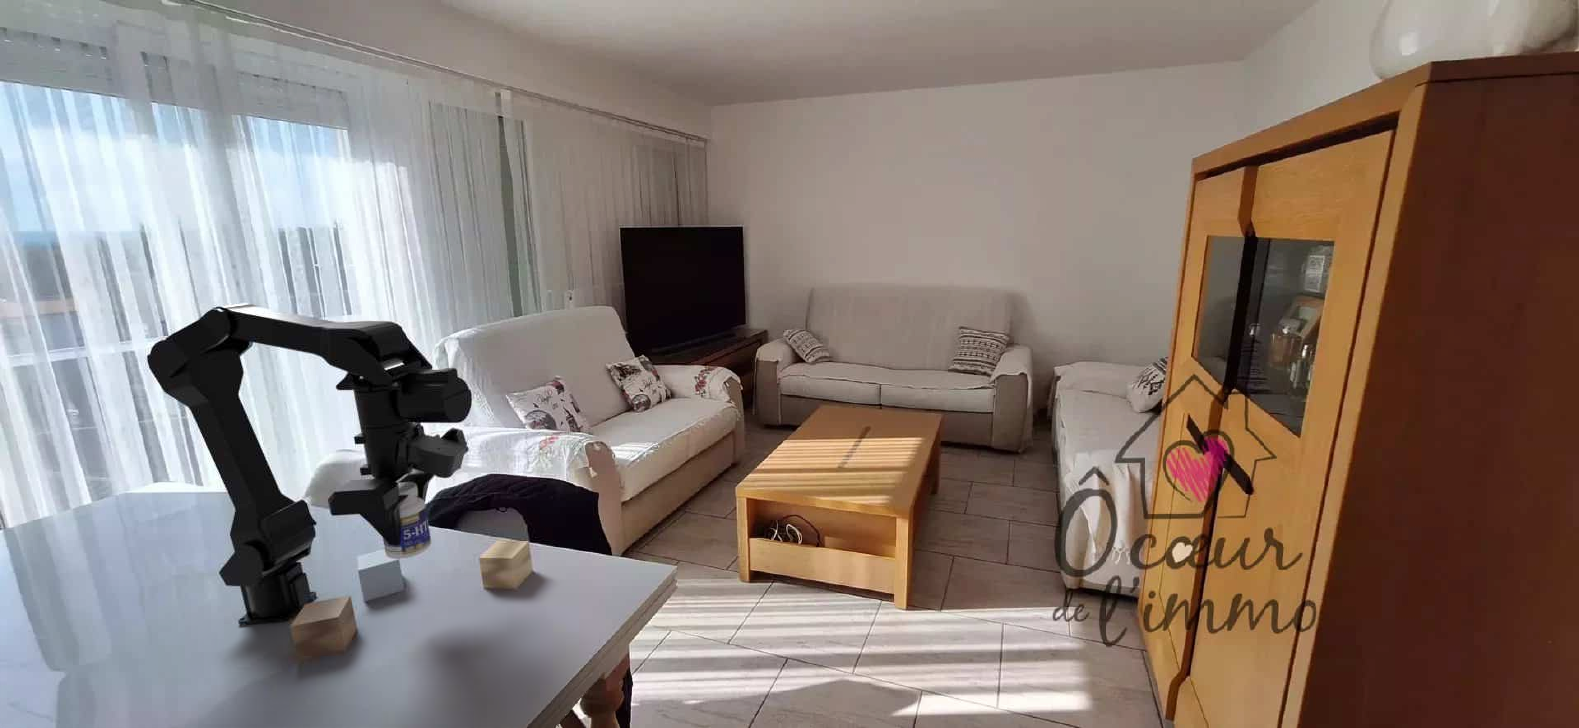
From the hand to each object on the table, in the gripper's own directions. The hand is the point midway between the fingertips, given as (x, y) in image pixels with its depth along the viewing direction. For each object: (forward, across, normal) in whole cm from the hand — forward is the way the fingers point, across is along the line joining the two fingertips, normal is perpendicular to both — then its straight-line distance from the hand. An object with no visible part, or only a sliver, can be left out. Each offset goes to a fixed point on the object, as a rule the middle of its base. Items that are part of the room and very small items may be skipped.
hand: (406, 534), depth 84 cm
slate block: (+12, +8, +9) cm, 17 cm away
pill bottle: (+2, 0, 0) cm, 2 cm away
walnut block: (+12, -5, +9) cm, 16 cm away
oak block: (+12, +8, -9) cm, 17 cm away
